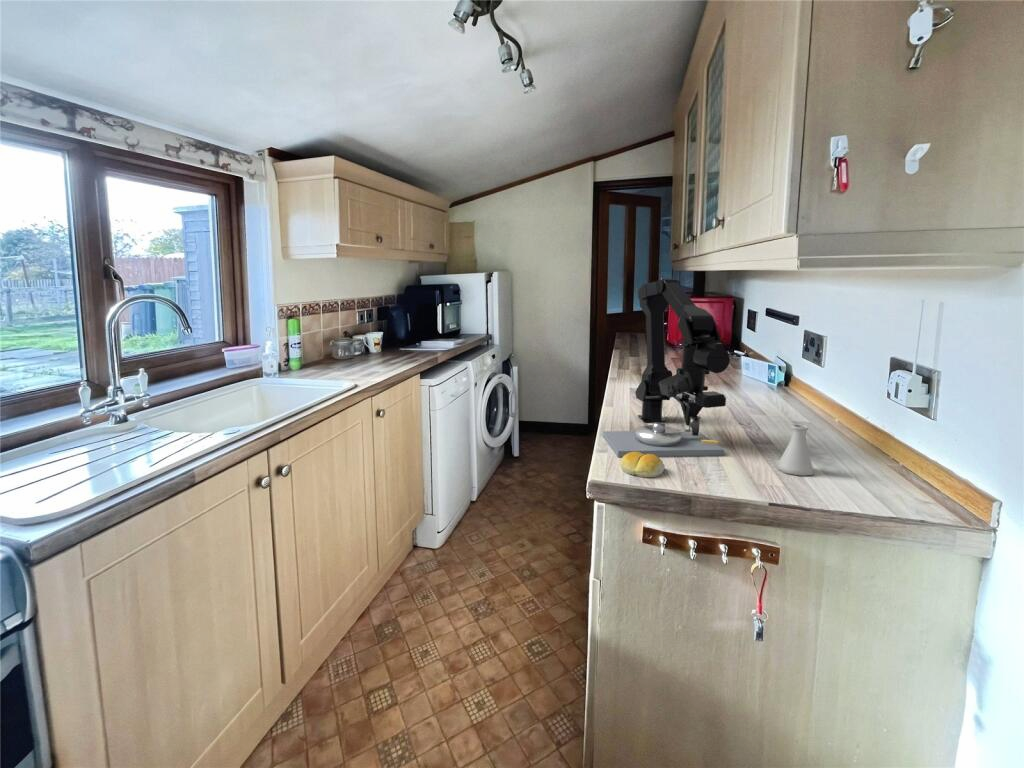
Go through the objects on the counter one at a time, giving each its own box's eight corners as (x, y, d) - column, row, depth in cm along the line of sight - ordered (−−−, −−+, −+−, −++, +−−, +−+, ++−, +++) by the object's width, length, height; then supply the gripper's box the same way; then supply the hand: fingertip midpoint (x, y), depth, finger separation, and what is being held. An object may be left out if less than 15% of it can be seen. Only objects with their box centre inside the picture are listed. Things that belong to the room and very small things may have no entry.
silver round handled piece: (644, 446, 120) (645, 424, 119) (629, 433, 131) (630, 412, 130) (708, 444, 122) (710, 422, 121) (688, 431, 132) (690, 411, 131)
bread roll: (630, 461, 116) (631, 444, 115) (668, 470, 111) (669, 452, 110) (612, 471, 110) (613, 454, 109) (651, 481, 104) (653, 463, 104)
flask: (819, 478, 106) (825, 431, 104) (782, 475, 107) (786, 429, 105) (807, 466, 113) (812, 422, 111) (771, 463, 114) (776, 420, 112)
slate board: (602, 436, 134) (603, 429, 133) (698, 435, 135) (698, 427, 135) (617, 457, 118) (618, 448, 118) (725, 455, 119) (726, 447, 119)
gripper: (644, 360, 132) (640, 417, 136) (689, 374, 115) (684, 440, 118) (681, 357, 136) (676, 414, 139) (730, 371, 118) (724, 435, 122)
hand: (688, 425), depth 129 cm, fingers closed
